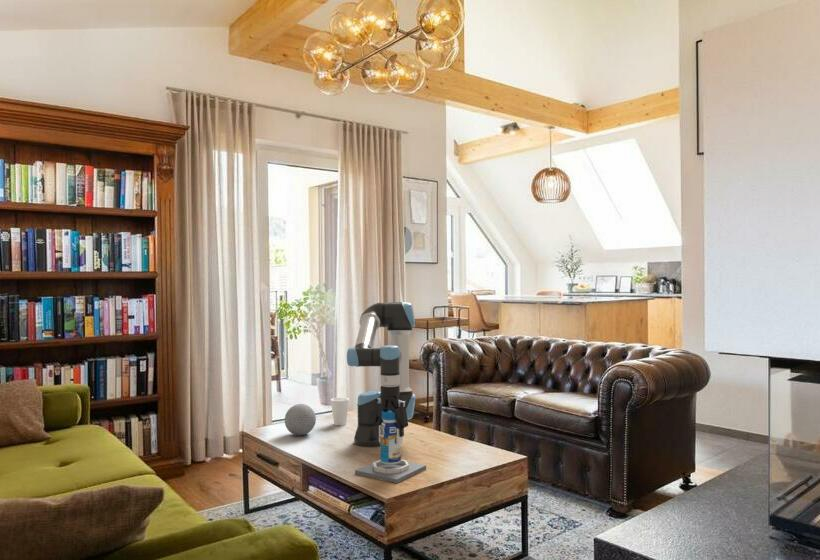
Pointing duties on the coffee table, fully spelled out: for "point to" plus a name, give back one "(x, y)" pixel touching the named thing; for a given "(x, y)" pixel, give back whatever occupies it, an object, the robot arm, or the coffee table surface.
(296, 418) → the decorative ball
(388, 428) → the beverage bottle
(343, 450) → the coffee table surface
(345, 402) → the foam cup
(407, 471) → the slate plate
